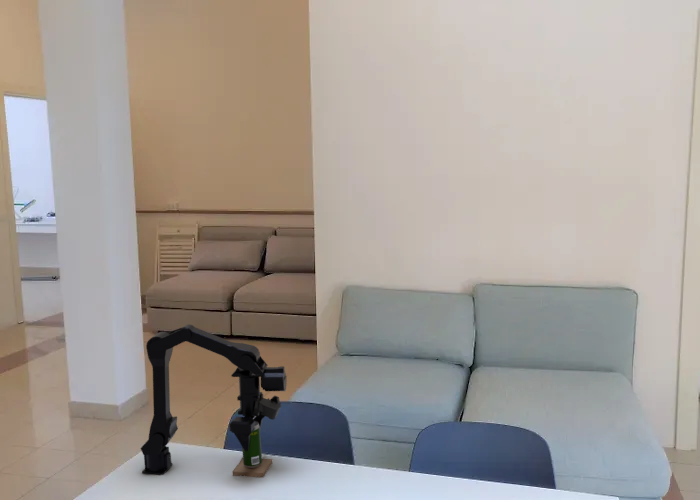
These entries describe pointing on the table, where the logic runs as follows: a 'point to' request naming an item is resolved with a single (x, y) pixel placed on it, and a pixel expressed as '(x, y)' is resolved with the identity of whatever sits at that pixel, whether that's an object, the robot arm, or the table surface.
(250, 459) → the beer can
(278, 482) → the table surface
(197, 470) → the table surface
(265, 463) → the brown square coaster
